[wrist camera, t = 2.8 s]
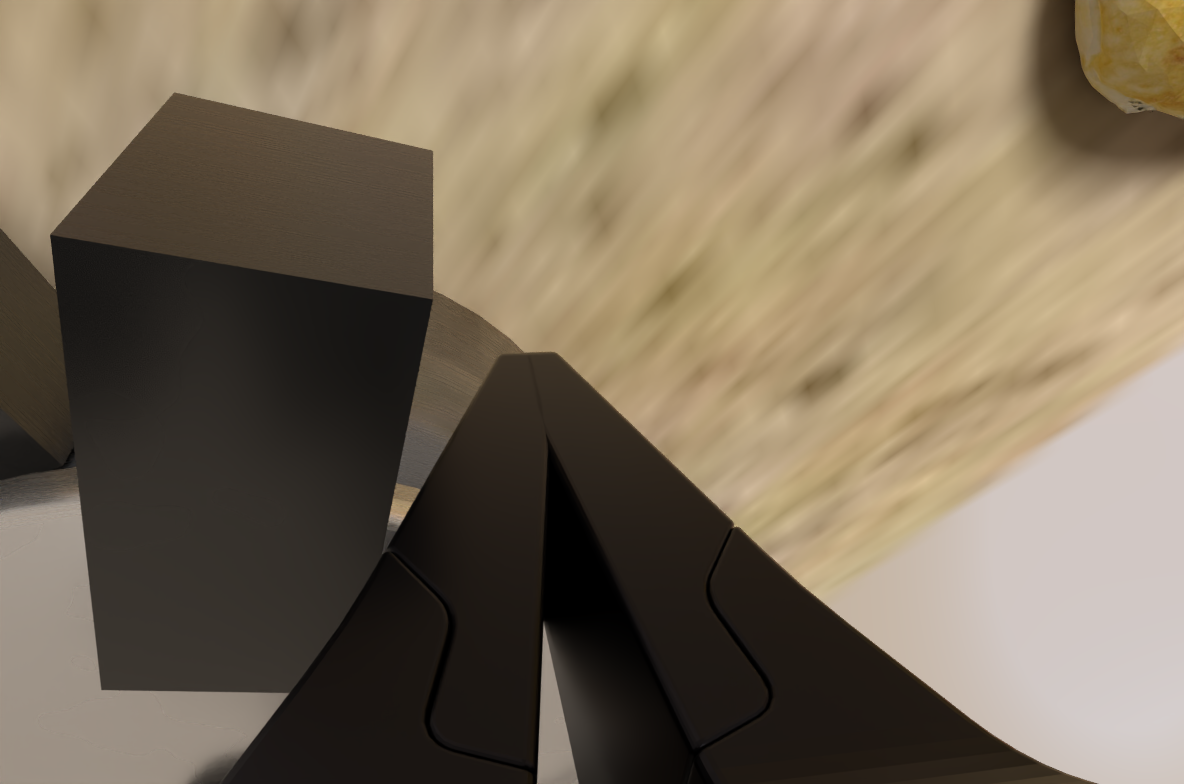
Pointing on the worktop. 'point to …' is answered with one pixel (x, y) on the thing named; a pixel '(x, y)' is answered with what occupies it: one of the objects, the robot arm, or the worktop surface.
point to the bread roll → (1134, 52)
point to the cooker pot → (40, 396)
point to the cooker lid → (216, 445)
